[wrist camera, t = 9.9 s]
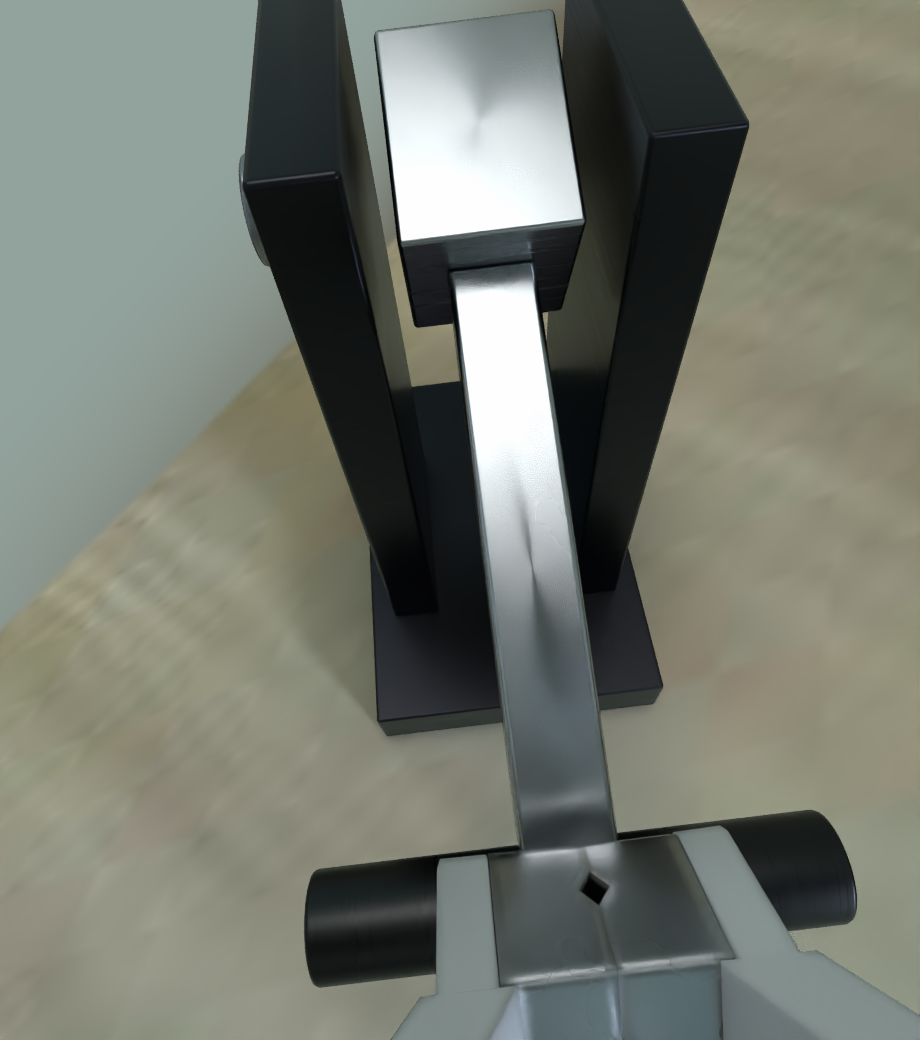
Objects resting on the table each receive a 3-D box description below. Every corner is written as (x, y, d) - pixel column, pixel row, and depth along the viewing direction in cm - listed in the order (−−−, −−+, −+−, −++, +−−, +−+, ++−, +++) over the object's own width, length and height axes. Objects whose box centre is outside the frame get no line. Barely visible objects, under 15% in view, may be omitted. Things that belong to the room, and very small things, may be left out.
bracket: (654, 704, 16) (905, 276, 6) (385, 736, 16) (159, 368, 6) (578, 394, 20) (642, -145, 10) (370, 420, 20) (230, -94, 10)
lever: (793, 881, 9) (901, 969, 7) (339, 936, 9) (294, 1042, 7) (660, 125, 11) (711, -13, 9) (271, 172, 11) (215, 47, 9)
